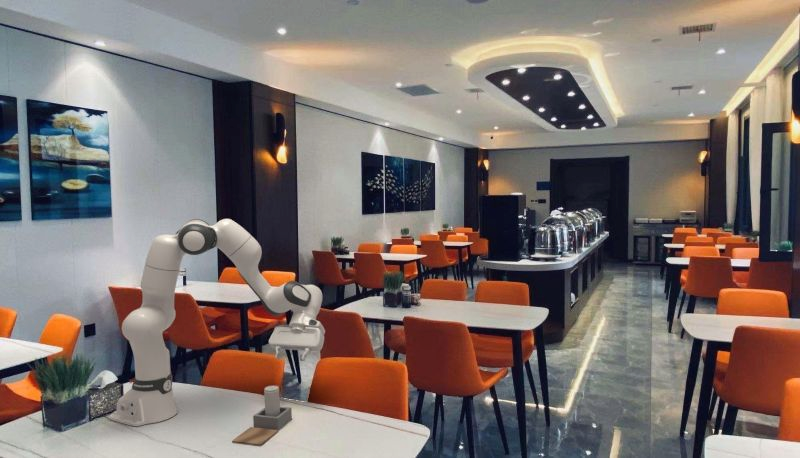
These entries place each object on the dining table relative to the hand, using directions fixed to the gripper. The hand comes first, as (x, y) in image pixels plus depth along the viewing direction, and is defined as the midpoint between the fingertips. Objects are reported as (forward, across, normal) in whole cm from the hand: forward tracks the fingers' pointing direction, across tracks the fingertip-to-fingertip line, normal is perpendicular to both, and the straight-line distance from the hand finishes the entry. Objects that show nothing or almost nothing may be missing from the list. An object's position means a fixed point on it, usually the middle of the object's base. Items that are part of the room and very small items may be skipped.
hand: (289, 359), depth 188 cm
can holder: (+21, 0, +4) cm, 22 cm away
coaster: (+29, 0, -4) cm, 29 cm away
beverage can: (+22, 0, +4) cm, 22 cm away
